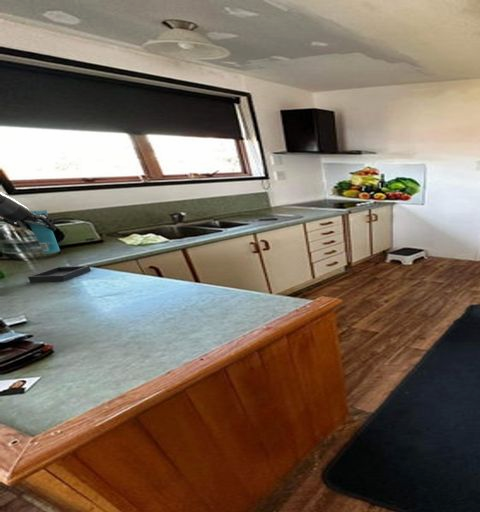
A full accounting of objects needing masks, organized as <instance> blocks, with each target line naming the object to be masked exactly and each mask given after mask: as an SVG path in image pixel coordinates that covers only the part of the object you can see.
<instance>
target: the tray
mask: <svg viewBox="0 0 480 512" xmlns="http://www.w3.org/2000/svg"><path fill="white" fill-rule="evenodd" d="M90 271H92V269H91V267H90V265H71V266H67V265H66V266H56V267H53V268H50V269H47V270H44V271H42V272H38V273H35V274H32V275H29V276H27V279H28V280H29V282H30V283H42V282H66V281H68V280H70V279H73V278H75V277H78V276H81V275H84V274H86V273H88V272H90Z"/></svg>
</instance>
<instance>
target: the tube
mask: <svg viewBox="0 0 480 512" xmlns="http://www.w3.org/2000/svg"><path fill="white" fill-rule="evenodd" d="M29 211H30V212H31V213H33V214H36V215H41V213H43V214H45V215H47V216H48V217H49V215H48V210H47V209H41V210H29ZM38 221H39V220H38V219H37V221H36V222H37V223H38ZM42 223H43V224H45V223H44V222H43V221H42ZM29 225H30V227H31V229H32V231H33V232H32V231H31V232H32V233H33V235H34V237H35V238H36V241H37V242H38V245H39V246H40V249H41V250H42V253H43V254H44V255H45V254H46V255H47V254H55V253H59V252H61V249H60V247H59V244H58V242H57V239H56V236H55V234H54V231H52V230H50V229H48V228H46V227H45V226H42V225H35V224H32V223H29Z"/></svg>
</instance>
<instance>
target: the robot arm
mask: <svg viewBox="0 0 480 512" xmlns="http://www.w3.org/2000/svg"><path fill="white" fill-rule="evenodd" d="M30 211H31V210H30V209H29V208H28V207H27V206H26V205H23V204H22V203H20V202H19V201H17V200H15V199H14V198H12V197H10V196H8V195H6V194H5V193H2V192H1V191H0V217H1V219H0V221H1V222H4V223H5V224H8V225H10V226H12V227H15V228H18V229H19V228H22V229H26V230H28V231H31V232H32V233H33V231H32V229H31V227H30V225H29V223H32V224H35V225H42V226H45V227H46V228H48V229H50V230H52V231H53V232H56V230H57V226H56V225H55V224H54V219H52V218H51V217H49V215H48V216H47V215H45V214H43V213H41V215H36V214H33V213H31V212H30ZM37 219H38V220H39V221H38V223H37V222H36V221H37ZM42 221H43V222H44V223H45V224H43V223H42Z"/></svg>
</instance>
